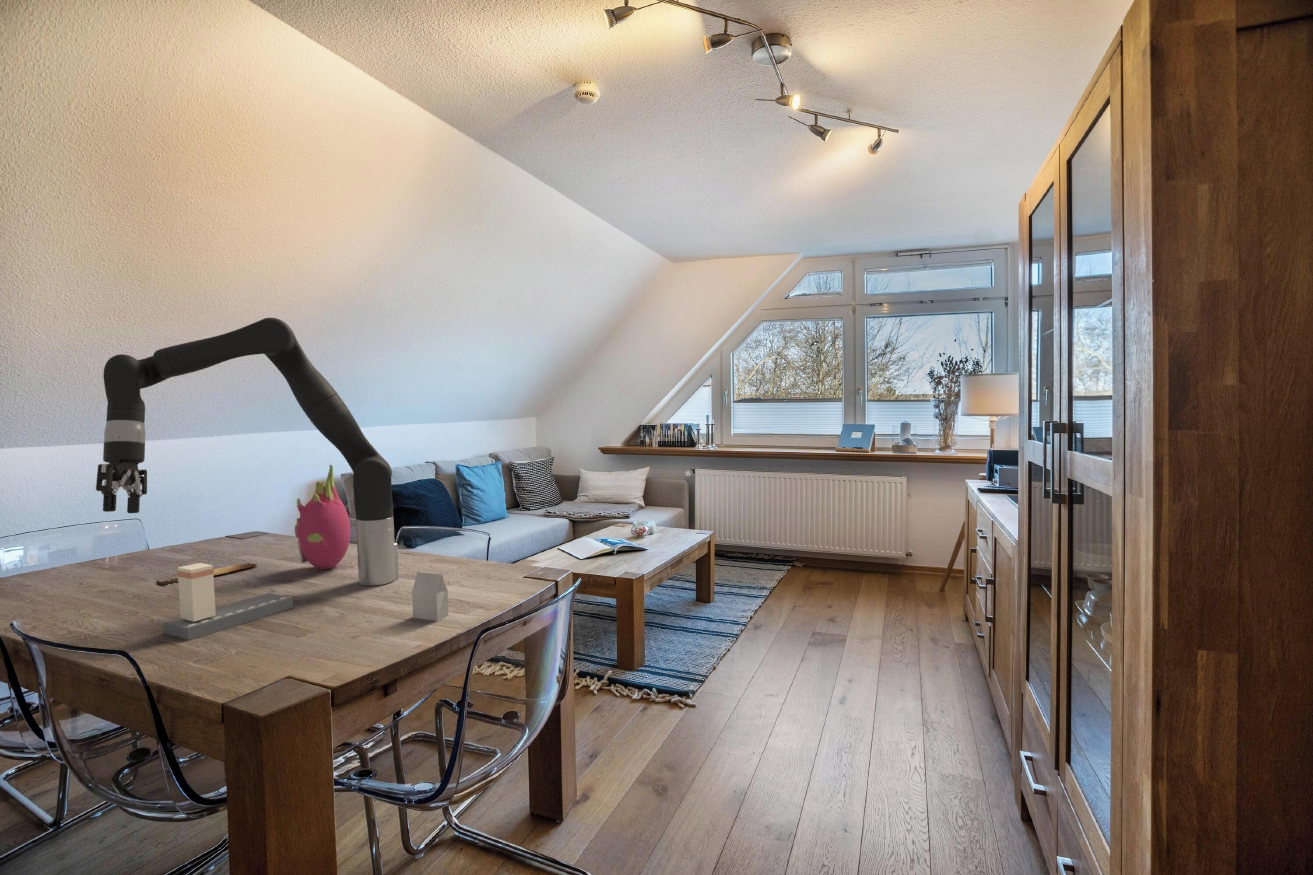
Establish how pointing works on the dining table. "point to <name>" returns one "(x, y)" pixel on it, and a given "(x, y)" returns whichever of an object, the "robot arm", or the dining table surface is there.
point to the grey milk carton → (429, 597)
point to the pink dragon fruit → (323, 527)
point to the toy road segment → (229, 616)
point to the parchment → (216, 572)
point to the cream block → (196, 591)
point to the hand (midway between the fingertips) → (121, 512)
